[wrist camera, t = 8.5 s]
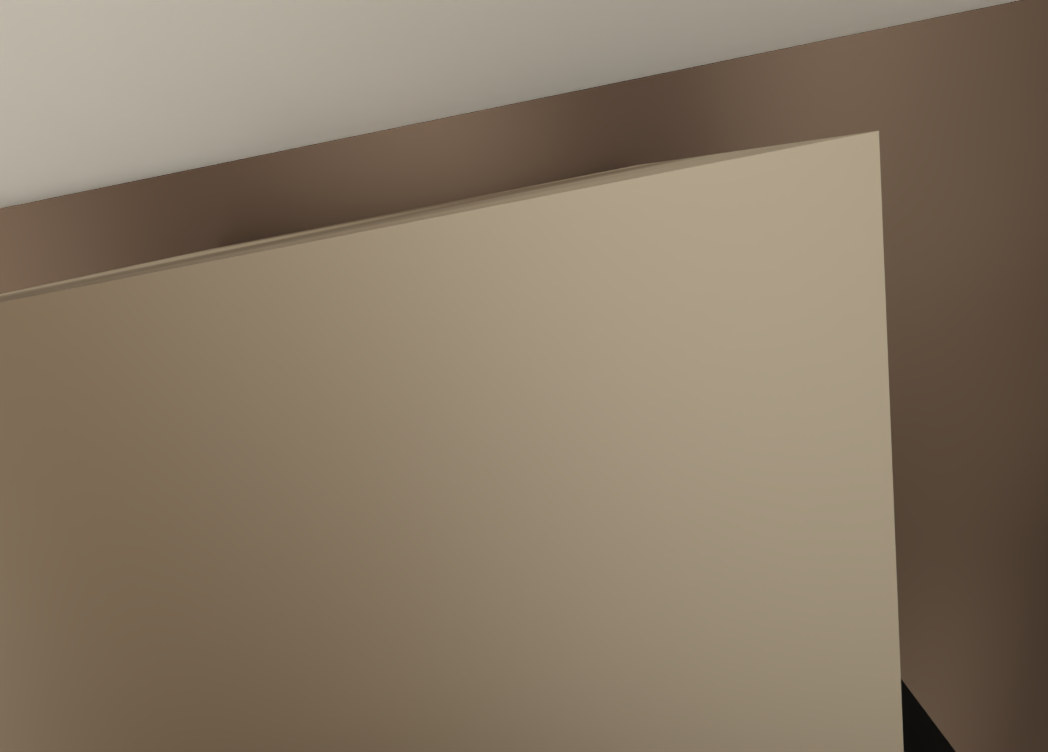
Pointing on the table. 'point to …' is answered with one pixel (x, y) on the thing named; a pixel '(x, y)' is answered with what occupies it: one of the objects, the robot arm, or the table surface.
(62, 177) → the table surface
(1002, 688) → the board
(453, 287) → the beige wooden brick
